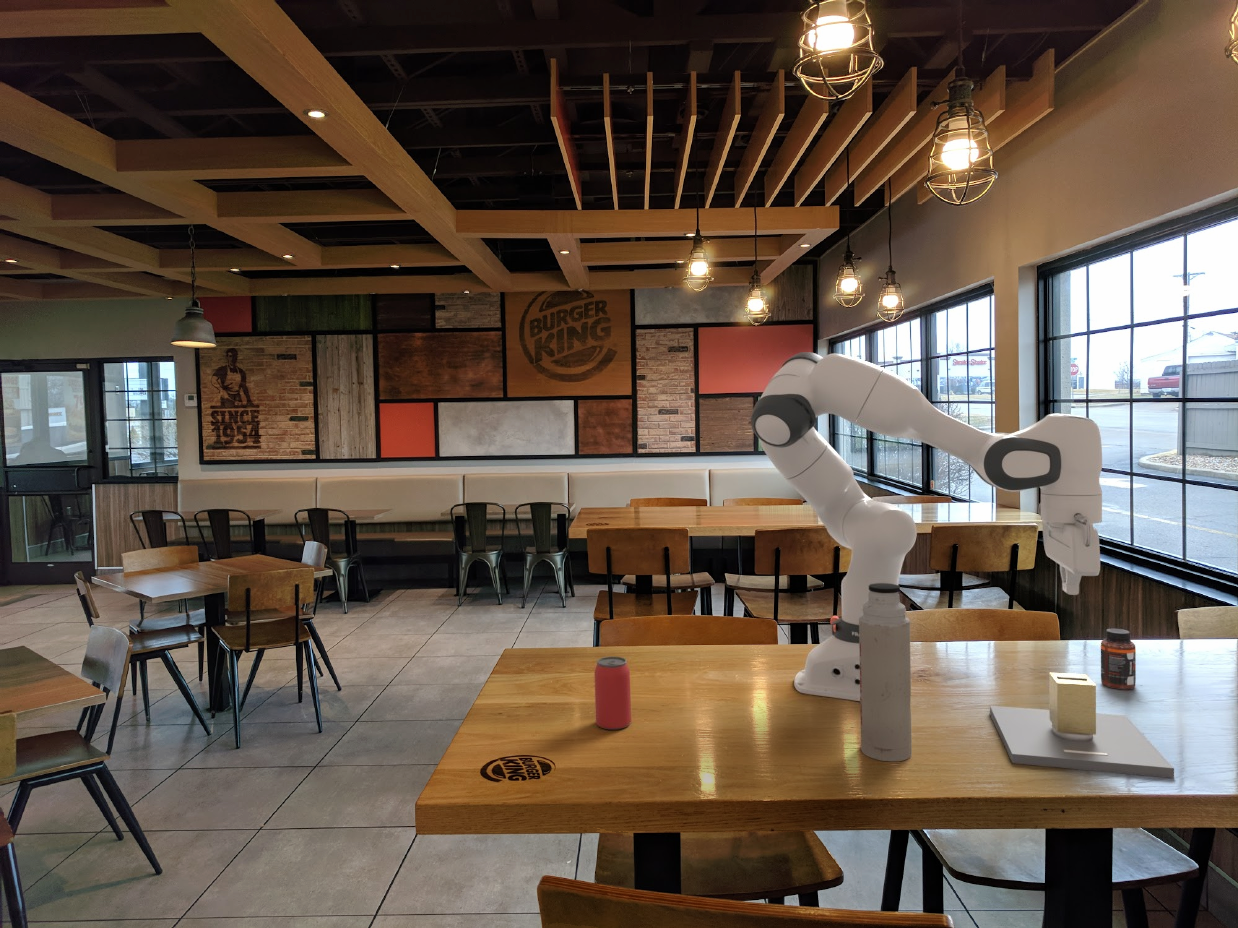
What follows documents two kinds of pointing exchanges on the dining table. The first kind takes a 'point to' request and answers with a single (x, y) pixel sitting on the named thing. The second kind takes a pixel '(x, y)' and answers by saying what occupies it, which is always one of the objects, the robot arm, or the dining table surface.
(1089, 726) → the brushed gold block
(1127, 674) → the supplement bottle
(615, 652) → the dining table surface
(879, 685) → the thermos bottle
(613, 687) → the beer can
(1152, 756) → the stud plate
